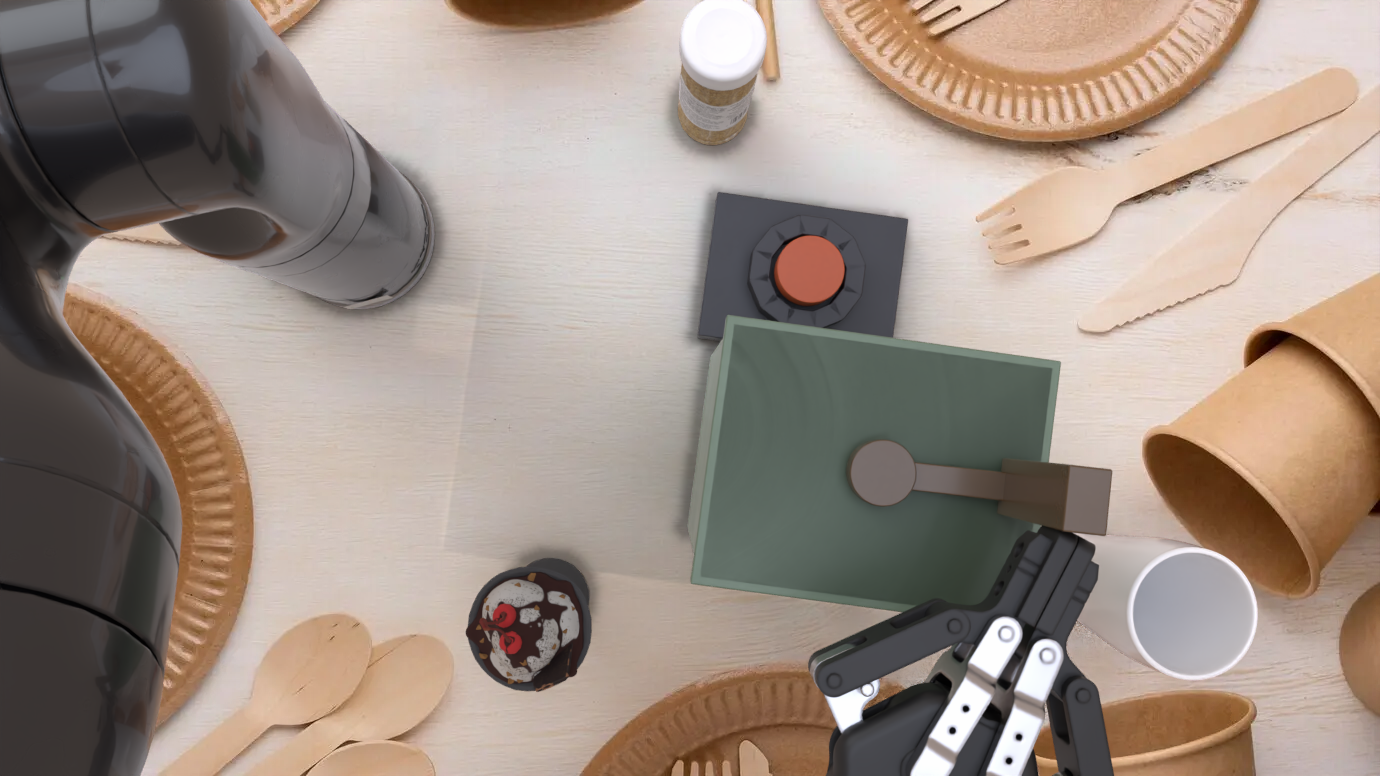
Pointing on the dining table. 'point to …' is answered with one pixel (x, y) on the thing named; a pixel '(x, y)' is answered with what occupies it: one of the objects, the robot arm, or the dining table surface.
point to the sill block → (818, 444)
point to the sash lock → (988, 486)
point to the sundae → (531, 625)
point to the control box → (756, 239)
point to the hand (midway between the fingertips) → (1069, 533)
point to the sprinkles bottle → (719, 68)
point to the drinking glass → (1170, 605)
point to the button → (809, 270)
